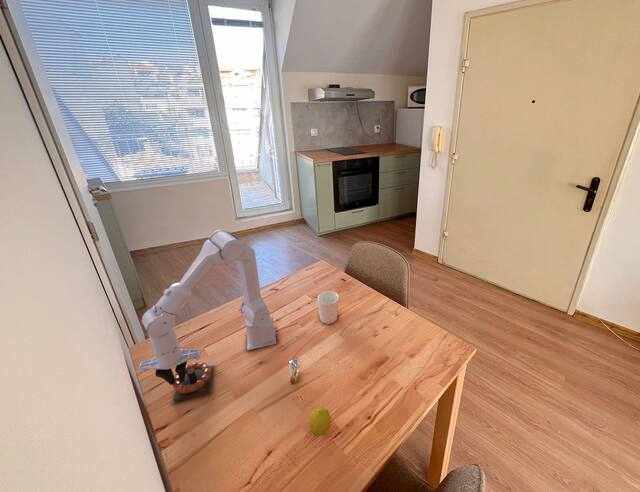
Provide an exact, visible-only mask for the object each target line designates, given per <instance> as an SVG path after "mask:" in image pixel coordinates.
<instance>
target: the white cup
mask: <svg viewBox="0 0 640 492" xmlns="http://www.w3.org/2000/svg"><path fill="white" fill-rule="evenodd" d="M317 307H318V313H319V320H320V322H321V323H324V324H327V325H329V324H333V323H334V322H336V320H338V313H339V294H338V293H337V292H336V291H333V290H324V291H322V292H321V293H319V294H318V295H317Z"/></svg>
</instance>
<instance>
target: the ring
mask: <svg viewBox="0 0 640 492" xmlns="http://www.w3.org/2000/svg"><path fill="white" fill-rule="evenodd" d="M300 365H301V363H300V358H299V357H294V358H292V359H291V360H290V361H289V362H288V367H289V379H290V380H289V381H290V384H291V385H296V383H297V381H298V380H299V379H298V378H299V375H300V374H299V373H300ZM293 370H294V373H293Z"/></svg>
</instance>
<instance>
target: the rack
mask: <svg viewBox="0 0 640 492" xmlns="http://www.w3.org/2000/svg"><path fill="white" fill-rule="evenodd" d="M208 366H209V368H210V369H211V371H210V377H209V379H208V380H207V382H206V383H205V384H204V386H202V387H201V388H199V389H198V390H196V391H194V392H190V393H186V394H184V393H180V392H177V391H176V390H175V393H174V396H173V402H174V403H179V402H183V401H186V400H190V399H194V398H196V397H201V396H204V395H209V394H210V392H211V384H212V377H213V365H208ZM202 376H203V372H202V370H195V369H194V368H191V369H189V370H188V371H187V374H186V375H185V380H184V382H182V384H183V385H191V384H194V383H195V382H197V381H199V380H200V378H201V377H202Z"/></svg>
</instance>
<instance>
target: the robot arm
mask: <svg viewBox="0 0 640 492" xmlns="http://www.w3.org/2000/svg"><path fill="white" fill-rule="evenodd" d="M224 260H225V261H226V262H227V261H228V262H237V266H238V272H239V279H240V285H241V289H242V296H243V297H241V299H240V301H241V303H240V307H239V312H240V313H241V315H243V316H244V324H245V328H246V335H247V336H246V337H247V339H246V340H247V341H246V345H247V347H246V348H247V349H246V350H247V351H251V350H255V349H260V348H264V347H267V346H273V345H276V344H277V338H276V334H277V330H276V328H275V321H274V315H273V314H271V311H270V310H269V309H268V307H267V304H266V302H265V300H264V299H263V298H262V293H261V286H260V279H259V272H258V265H257V258H256V252H255V249H254V248H253V247H251V246H250V245H249V244H248V243H247V242H246V241H244V240H243V239H241V238H240V237H239V236H237V235H235V234H234V233H233V232H231V231H228V230H225V229H217V230H215V231H213V232H212V233H211V234H210V235H209V237H208V239H206V240H205V241H204V243H203V245H202V248H201V250H200V252H199V254H198V255H197V256H196V258H195V259H194V260H193V262H192V264H191V265H190V266H189V268H188V269H187V270H186V272H185V274H184V275H183V277H182V278H181V280H180V281H179V282H176V283H172V284H171V285H170V286H169V288H166V289H164V290H163V292H162V293H163V295H162V296H161V297H160V298H159V300H158V301H157V302H156V304H155V305H153V306H152V307H151V308H149V309H148V310H146V311H145V313H144V314H142V318H141V321H140V323H141V324H142V325H143V327H144V329H145V330H146V333H147V336H148V339H149V343H150V346H151V348H152V351H153V353H154V355H155V356H154V357H152V358H149V359H147V360H144V361H140V364H139V366H138V369H139V372H140V374H142V373H145V372H146V371H147V370H155V376H156V377H157V378H161V379H163V380H164V381H166V383H168V384H169V385H170V386H173V382H174V378H175V375H174V372H175V373H176V375H177V374H178V375H179V378H180V381H181V382H184V380H185V368H186V366H187V364H188V361H191V360H193V359H195V360H201V355H202V353H201V349H200V348H198V349H181V346H180V343H179V340H178V336H177V333H176V329H175V328H174V327H175V324H176V323H175V320H176V318H177V316H178V314H179V313H180V312H181V310H183V307H185V305H186V304H187V303H188V302H189V300H190V299H191V297H192V295H193V293H192V289H193V288H194V286H196V284H197V283H198V282H199V281H200V280H201V279H202V278H203V277H204V276H205V274H206V273H207V272H208V271H209V269H211V267H213V266H219V265H224V264H226V262H225V261H224ZM174 367H175V369H174V372H173V368H174Z"/></svg>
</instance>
